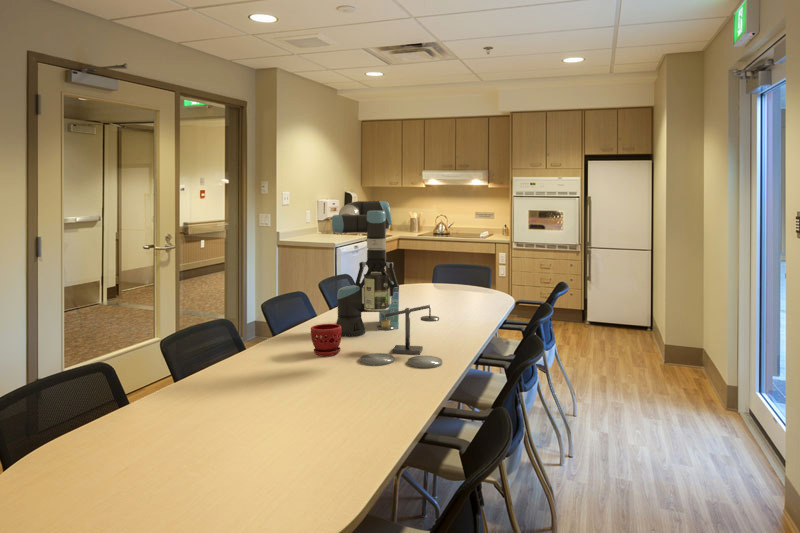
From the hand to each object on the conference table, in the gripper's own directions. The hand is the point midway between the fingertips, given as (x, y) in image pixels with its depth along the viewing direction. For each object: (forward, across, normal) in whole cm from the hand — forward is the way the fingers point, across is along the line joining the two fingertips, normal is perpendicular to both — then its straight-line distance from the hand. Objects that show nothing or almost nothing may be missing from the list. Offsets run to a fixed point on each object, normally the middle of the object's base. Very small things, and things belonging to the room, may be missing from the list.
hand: (376, 303), depth 238 cm
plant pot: (+24, -24, +7) cm, 35 cm away
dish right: (+24, +20, 0) cm, 31 cm away
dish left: (+24, 0, 0) cm, 24 cm away
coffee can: (+2, 0, 0) cm, 2 cm away
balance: (+24, +10, +16) cm, 31 cm away
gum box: (+24, -9, +65) cm, 70 cm away
